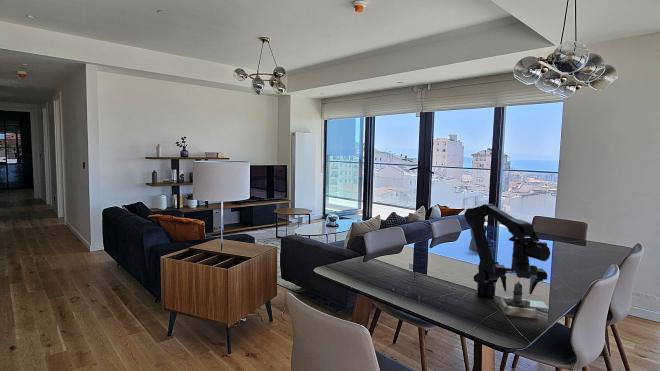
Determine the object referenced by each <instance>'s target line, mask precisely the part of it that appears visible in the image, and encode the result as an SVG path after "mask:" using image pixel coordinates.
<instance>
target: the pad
mask: <svg viewBox="0 0 660 371" xmlns="http://www.w3.org/2000/svg"><path fill="white" fill-rule="evenodd" d="M528 300H529V301H530V309H532V308H535V309H538V310H539V309H540V310H549V309H550V308H549V306H548V305H546V303H545V302H544V301H540V300H532V299H528Z"/></svg>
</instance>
